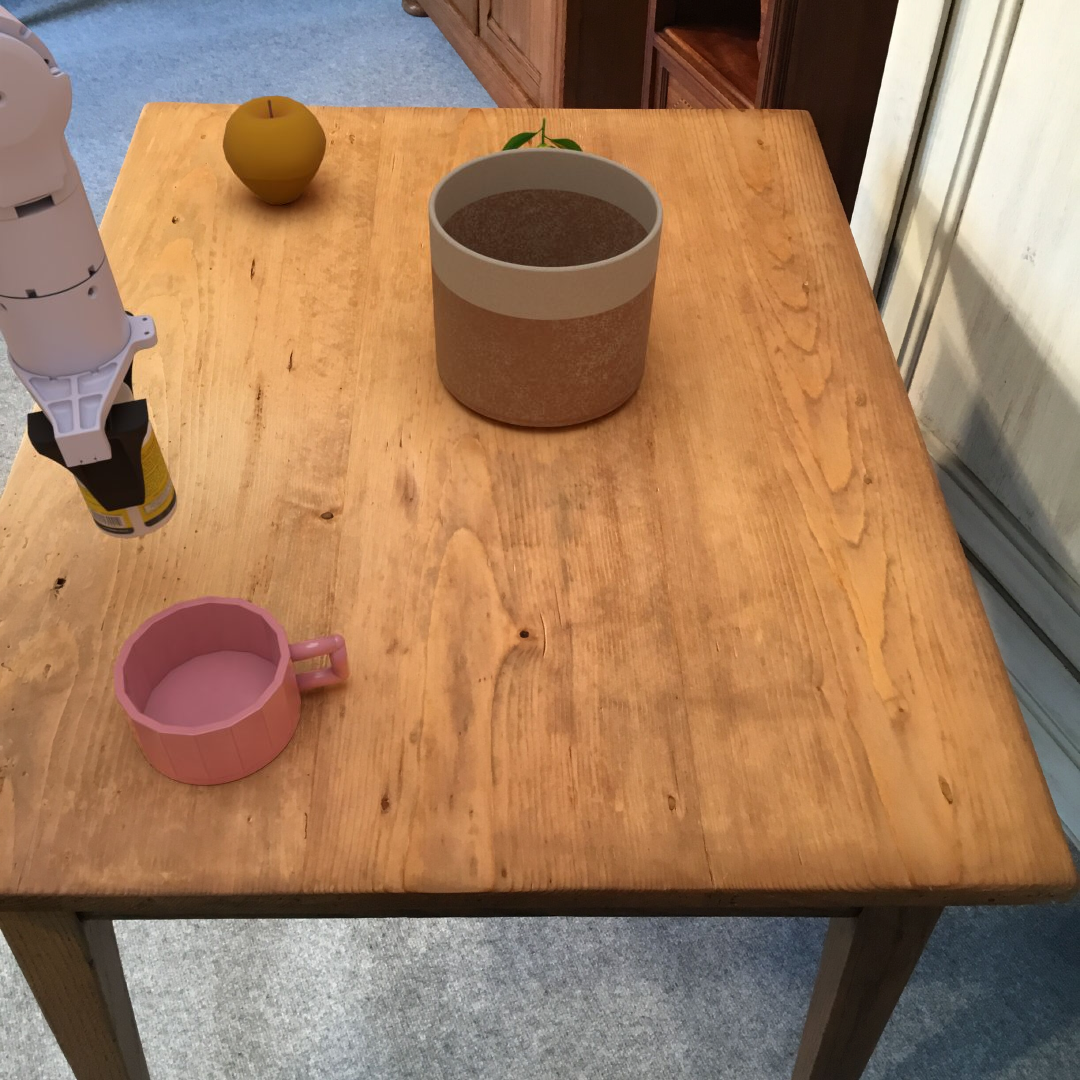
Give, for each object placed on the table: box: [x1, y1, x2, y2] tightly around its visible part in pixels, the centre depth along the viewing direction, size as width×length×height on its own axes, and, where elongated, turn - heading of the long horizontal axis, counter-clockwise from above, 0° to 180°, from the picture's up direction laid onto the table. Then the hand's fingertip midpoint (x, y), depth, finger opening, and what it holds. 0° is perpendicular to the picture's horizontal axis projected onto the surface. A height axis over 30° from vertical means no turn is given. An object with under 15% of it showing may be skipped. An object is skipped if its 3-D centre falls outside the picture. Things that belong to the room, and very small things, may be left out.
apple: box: [222, 95, 327, 206], centre depth 96 cm, size 9×9×9 cm
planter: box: [427, 147, 664, 428], centre depth 78 cm, size 16×16×14 cm
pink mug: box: [112, 595, 351, 786], centre depth 60 cm, size 12×9×5 cm
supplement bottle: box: [72, 382, 178, 539], centre depth 60 cm, size 5×5×8 cm
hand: (122, 471), depth 61 cm, fingers closed on supplement bottle, 5 cm apart
